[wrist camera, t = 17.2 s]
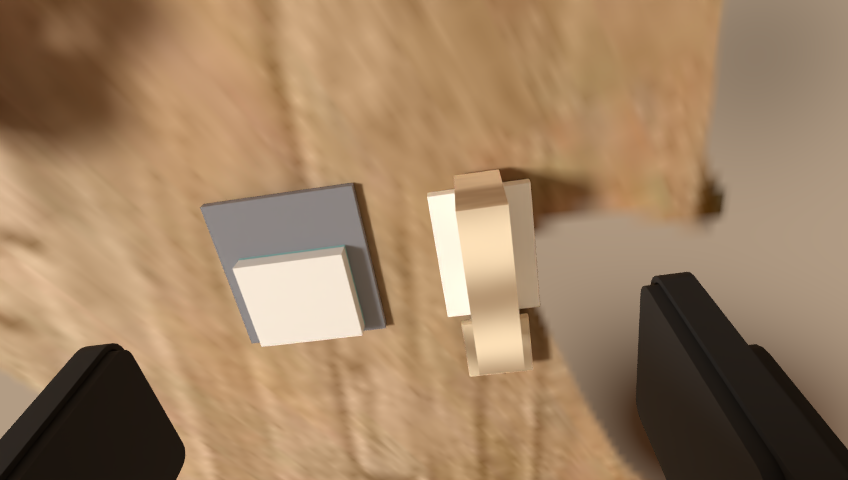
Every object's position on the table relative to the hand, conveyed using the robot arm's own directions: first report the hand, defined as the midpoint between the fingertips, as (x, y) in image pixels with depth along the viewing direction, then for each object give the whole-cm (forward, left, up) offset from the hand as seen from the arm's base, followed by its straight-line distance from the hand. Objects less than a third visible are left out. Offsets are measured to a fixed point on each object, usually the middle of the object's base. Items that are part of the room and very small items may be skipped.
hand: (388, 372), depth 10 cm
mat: (+11, -12, -27) cm, 31 cm away
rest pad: (+12, +2, -27) cm, 29 cm away
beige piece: (+14, +2, -26) cm, 29 cm away
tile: (+10, -12, -25) cm, 30 cm away
